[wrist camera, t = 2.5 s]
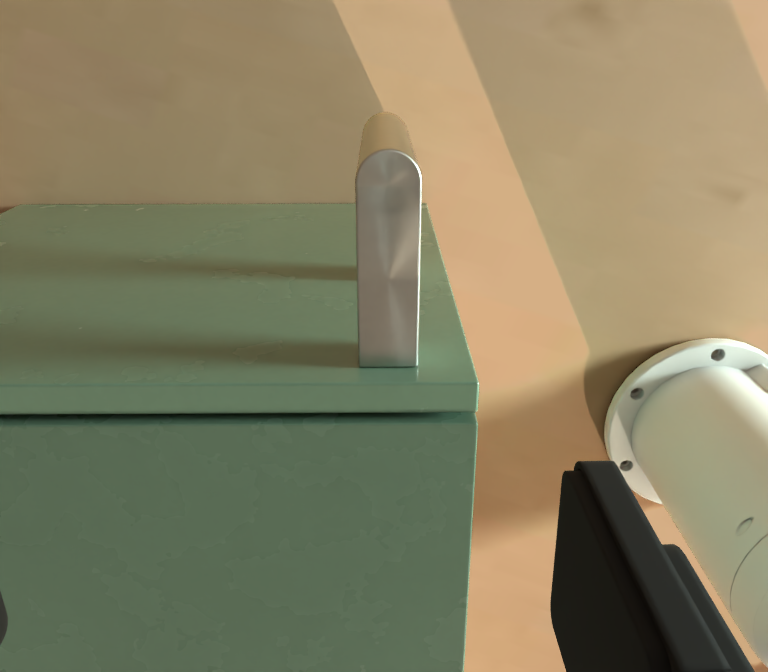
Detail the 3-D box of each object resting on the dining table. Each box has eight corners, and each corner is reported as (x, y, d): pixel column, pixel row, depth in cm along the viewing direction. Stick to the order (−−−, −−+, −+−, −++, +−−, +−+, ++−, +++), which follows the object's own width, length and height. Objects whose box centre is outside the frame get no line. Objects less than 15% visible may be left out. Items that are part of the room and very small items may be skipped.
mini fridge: (24, 224, 43) (-360, 427, 20) (426, 222, 43) (478, 423, 21) (73, 464, 49) (-178, 815, 27) (420, 462, 50) (456, 810, 27)
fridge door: (-4, 90, 40) (-479, 156, 18) (429, 89, 40) (493, 154, 18) (23, 220, 43) (-358, 417, 21) (426, 219, 43) (477, 413, 21)
